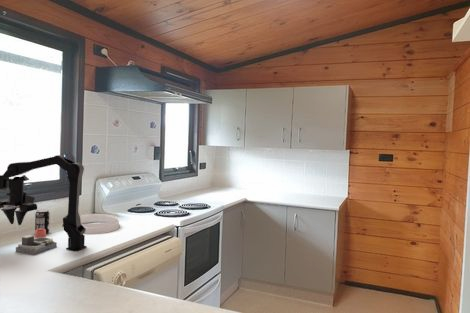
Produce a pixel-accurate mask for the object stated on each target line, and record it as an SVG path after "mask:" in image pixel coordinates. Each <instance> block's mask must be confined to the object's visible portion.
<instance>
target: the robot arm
mask: <svg viewBox="0 0 470 313" xmlns="http://www.w3.org/2000/svg"><path fill="white" fill-rule="evenodd" d="M54 165H57V166H59V167H60V168H61V169H62V170H64V171H66V175H67V180H68V183H69V184H68V185H69V186H68V187H69V188H68V205H67V215H65V216H64V217H63V218H62V226H61V227H62V228H63V230H64V232H65V233H66V234H67V236H68V238H67V241H68V242H67V247H65V249H66V250H68V251H75V252H78V251H81V250H83V249H85V248H87V245H85V236H86V234H83V233H85V230H86V229H85V228H84V227H83V226H82V225H81V224H82V223H81V221H80V214H79V207H80V206H79V205H80V204H79V203H80V188H81V187H80V186H81V180H82V178H83V176H84V170H85V167H84V165H83V164H82V163H81V162H76V161H74V160H71V159H69V158H66V157H65V156H63V155H61V154H58V155H54V156H52V157H51V156H49V157H47V158H42V159H38V160H37V159H36V160H34V161H33V160H32V161H20V162H19V161H17V162H12V163H9V164H8V166H7V169H6V170H5V172H4V173H2V174H0V191H6V190H7V189H8V192H6V196H8V200H7V199H5V200H0V209H1V211H2V212H3V214H4V215H5V216H6V218H7V221H9V224H10V225H14V224H15V217H16V221H17V225H18V226H22V223H23V220H24V218H25V216H26V215H27V213H28V212H32V211H37V210H38V204H37V203H35V197H34V196H30V195H27V192H26V191H25V184H24V183H25V182H26V181H29V180H30V179H29V177H27V175H26V174H27V173H29V172H30V171H33V170H37V169H41V168H45V167H49V166H54Z"/></svg>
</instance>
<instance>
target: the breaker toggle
mask: <svg viewBox="0 0 470 313" xmlns="http://www.w3.org/2000/svg"><path fill="white" fill-rule="evenodd" d="M34 239H35V235H30V234H28V235H25V236H24V235H23V236H22V237H21V244H23V245H29V246H33V245H34Z"/></svg>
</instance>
